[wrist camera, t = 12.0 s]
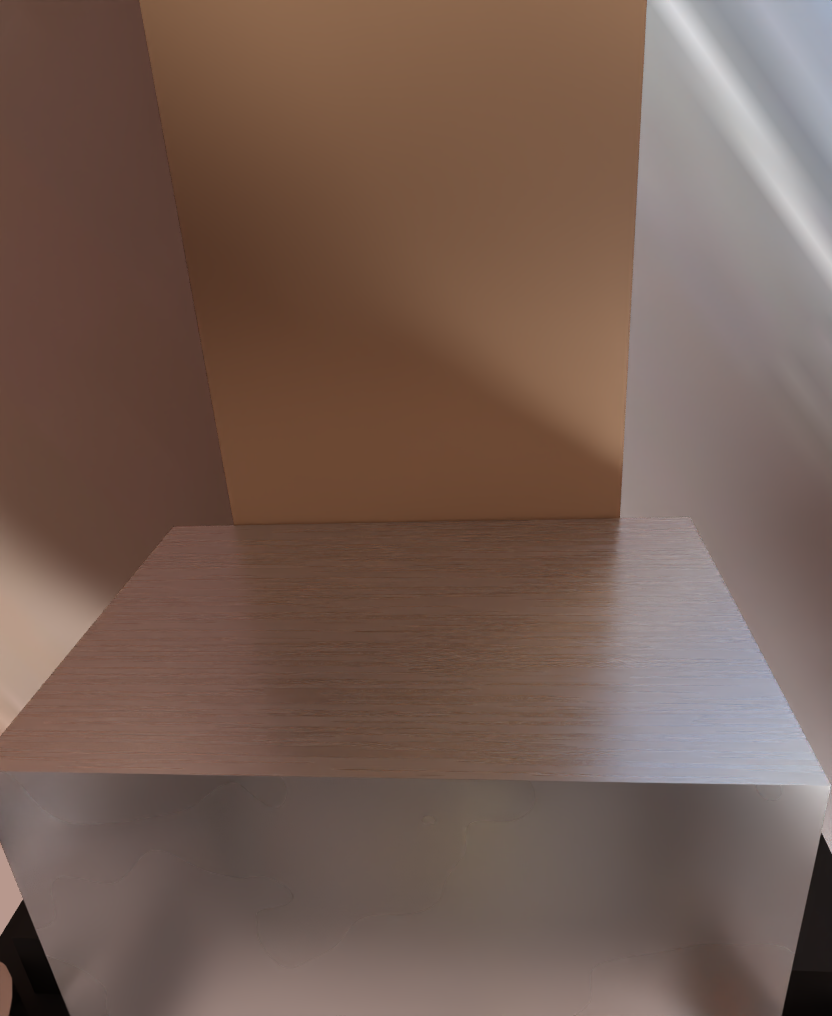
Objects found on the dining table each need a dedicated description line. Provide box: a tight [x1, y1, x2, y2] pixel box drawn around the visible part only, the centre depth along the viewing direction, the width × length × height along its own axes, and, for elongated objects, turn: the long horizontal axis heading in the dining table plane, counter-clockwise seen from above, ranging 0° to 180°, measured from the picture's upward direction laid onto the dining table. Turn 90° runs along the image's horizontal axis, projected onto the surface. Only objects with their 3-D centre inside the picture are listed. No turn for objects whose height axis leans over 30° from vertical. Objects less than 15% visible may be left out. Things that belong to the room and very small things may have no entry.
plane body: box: [139, 0, 647, 525], centre depth 11 cm, size 26×5×8 cm, turn 4°
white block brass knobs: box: [0, 517, 831, 1016], centre depth 9 cm, size 8×6×5 cm
